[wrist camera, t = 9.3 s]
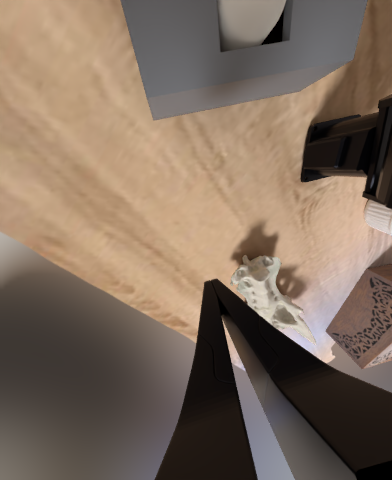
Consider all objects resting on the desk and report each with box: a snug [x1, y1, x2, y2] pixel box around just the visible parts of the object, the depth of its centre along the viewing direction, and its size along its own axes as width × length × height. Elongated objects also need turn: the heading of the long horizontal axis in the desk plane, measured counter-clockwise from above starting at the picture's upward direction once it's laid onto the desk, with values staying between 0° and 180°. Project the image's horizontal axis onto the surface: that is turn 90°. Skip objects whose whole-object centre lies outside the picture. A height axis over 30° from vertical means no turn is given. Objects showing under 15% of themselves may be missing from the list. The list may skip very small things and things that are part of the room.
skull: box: [230, 255, 316, 345], centre depth 27 cm, size 12×8×25 cm
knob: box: [217, 0, 286, 52], centre depth 10 cm, size 4×4×4 cm
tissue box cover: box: [326, 264, 392, 369], centre depth 35 cm, size 26×14×10 cm, turn 3°
